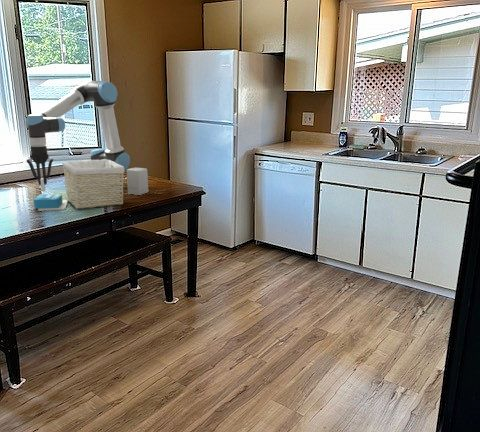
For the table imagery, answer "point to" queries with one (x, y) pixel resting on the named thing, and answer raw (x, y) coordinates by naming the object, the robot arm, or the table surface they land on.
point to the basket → (93, 183)
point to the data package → (48, 201)
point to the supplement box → (137, 181)
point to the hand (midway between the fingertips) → (43, 190)
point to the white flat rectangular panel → (61, 207)
